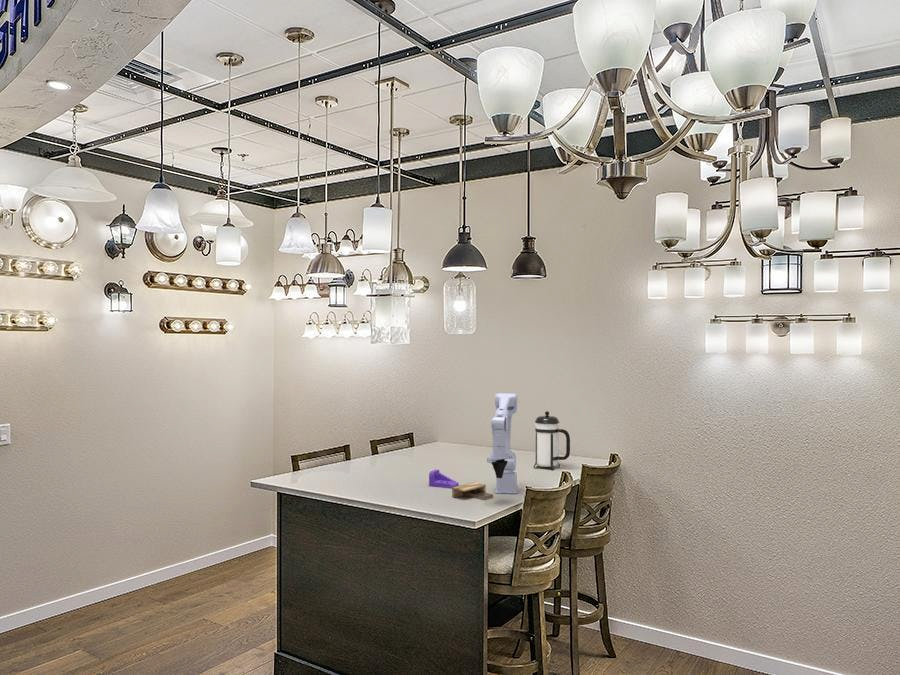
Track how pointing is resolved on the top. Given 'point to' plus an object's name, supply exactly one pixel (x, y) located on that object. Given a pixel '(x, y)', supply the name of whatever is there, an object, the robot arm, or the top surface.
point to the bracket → (441, 480)
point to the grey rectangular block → (478, 494)
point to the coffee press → (549, 441)
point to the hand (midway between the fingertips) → (499, 477)
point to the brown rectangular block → (467, 488)
